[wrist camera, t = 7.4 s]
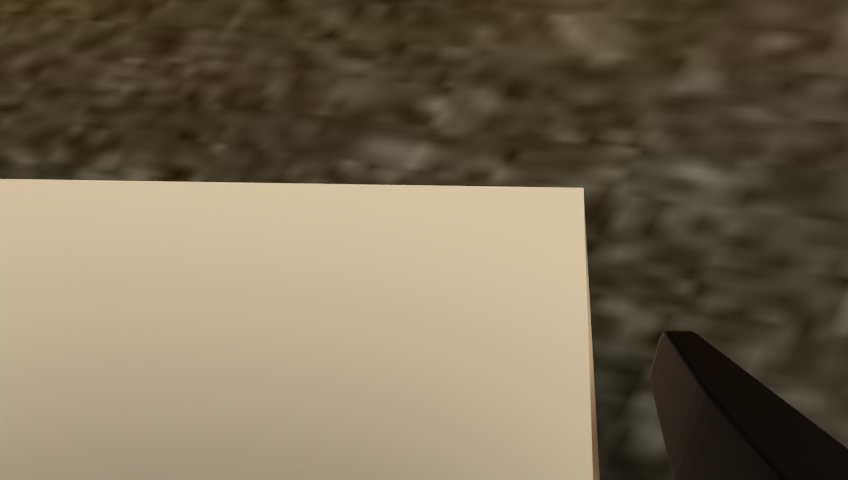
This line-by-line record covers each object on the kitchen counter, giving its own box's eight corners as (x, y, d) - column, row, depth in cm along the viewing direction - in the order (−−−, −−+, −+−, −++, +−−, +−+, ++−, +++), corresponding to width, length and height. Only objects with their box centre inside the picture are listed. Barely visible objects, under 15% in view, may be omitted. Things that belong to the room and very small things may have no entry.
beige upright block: (471, 508, 16) (620, 1167, 3) (322, 503, 16) (-179, 1119, 3) (472, 319, 17) (586, 185, 4) (332, 316, 17) (-6, 175, 4)
